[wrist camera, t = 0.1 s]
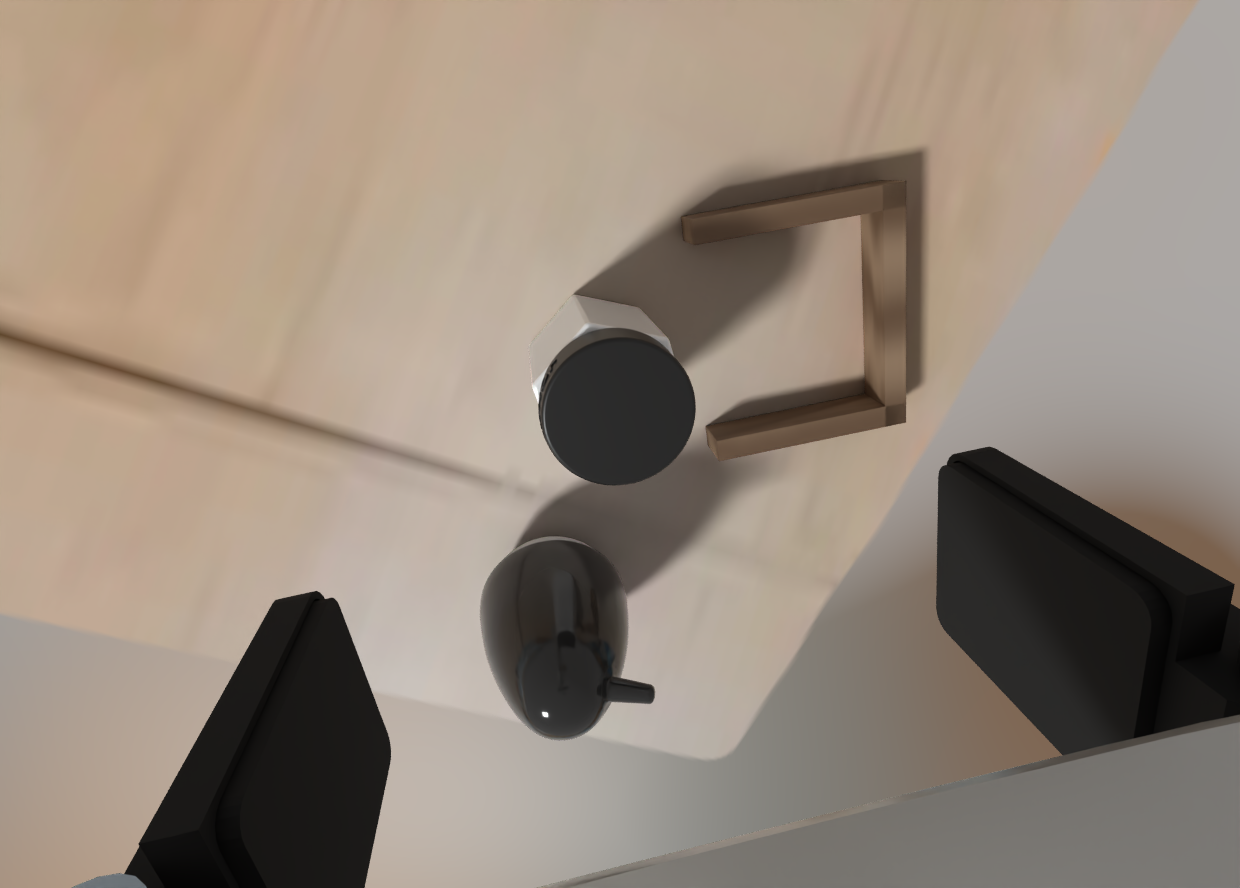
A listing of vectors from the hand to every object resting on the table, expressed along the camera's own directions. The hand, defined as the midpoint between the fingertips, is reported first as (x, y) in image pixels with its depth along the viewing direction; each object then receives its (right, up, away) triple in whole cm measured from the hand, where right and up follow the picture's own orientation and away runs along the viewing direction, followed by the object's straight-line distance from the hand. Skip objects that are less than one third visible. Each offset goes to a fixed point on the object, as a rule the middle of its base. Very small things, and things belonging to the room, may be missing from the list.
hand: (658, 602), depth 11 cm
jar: (-2, +8, +36) cm, 37 cm away
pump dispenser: (-6, -7, +42) cm, 43 cm away
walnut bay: (+10, +11, +37) cm, 40 cm away
